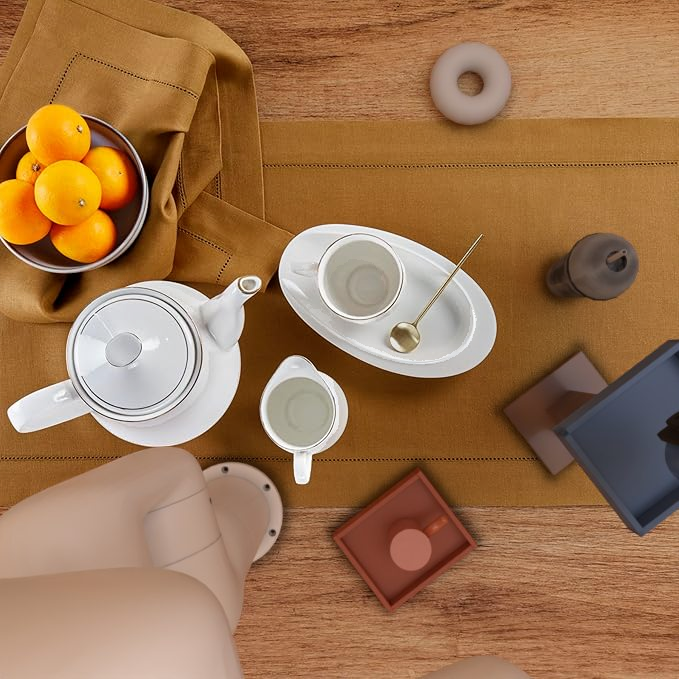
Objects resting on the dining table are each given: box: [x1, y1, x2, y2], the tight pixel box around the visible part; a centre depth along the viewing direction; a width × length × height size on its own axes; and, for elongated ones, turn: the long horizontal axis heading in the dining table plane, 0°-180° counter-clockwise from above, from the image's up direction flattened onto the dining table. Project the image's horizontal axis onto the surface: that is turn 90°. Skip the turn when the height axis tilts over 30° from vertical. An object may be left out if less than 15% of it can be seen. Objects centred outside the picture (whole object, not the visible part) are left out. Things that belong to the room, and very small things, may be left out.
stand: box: [501, 350, 610, 477], centre depth 69 cm, size 12×10×22 cm
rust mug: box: [387, 515, 448, 571], centre depth 77 cm, size 8×5×5 cm, turn 127°
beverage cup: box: [545, 232, 640, 302], centre depth 70 cm, size 7×7×20 cm
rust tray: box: [332, 466, 479, 614], centre depth 78 cm, size 13×11×2 cm
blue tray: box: [552, 338, 679, 538], centre depth 57 cm, size 13×11×2 cm
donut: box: [429, 41, 513, 126], centre depth 79 cm, size 10×4×10 cm
